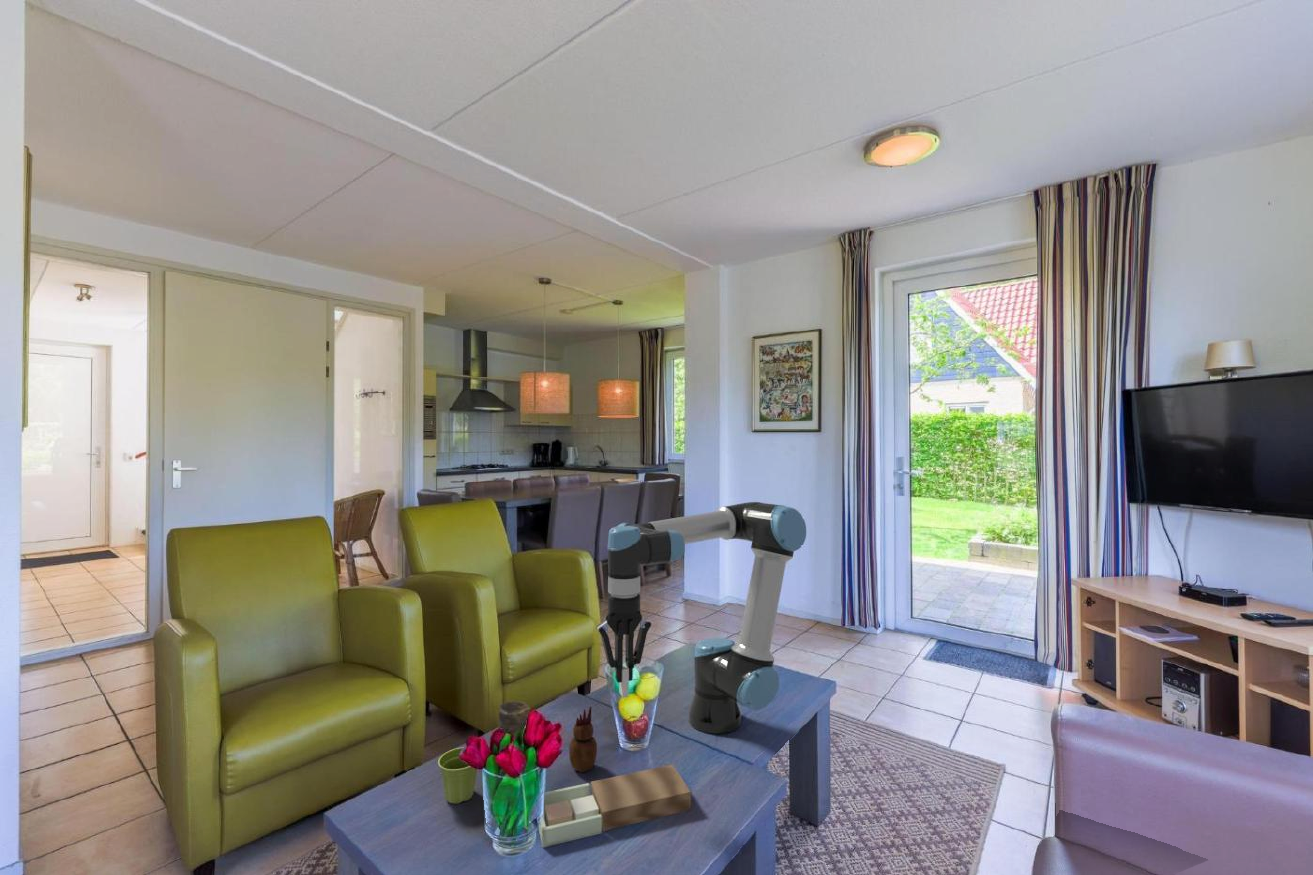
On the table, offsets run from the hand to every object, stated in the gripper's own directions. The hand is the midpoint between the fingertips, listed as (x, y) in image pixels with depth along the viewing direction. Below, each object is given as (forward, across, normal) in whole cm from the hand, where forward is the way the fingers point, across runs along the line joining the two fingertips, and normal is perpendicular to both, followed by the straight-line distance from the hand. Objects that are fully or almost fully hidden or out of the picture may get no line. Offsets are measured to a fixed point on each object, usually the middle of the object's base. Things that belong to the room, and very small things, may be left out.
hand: (624, 694), depth 132 cm
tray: (+22, +14, +6) cm, 27 cm away
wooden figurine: (+23, +7, -12) cm, 27 cm away
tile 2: (+22, +11, +6) cm, 25 cm away
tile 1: (+19, +16, +6) cm, 26 cm away
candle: (+23, +24, -8) cm, 34 cm away
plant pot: (+23, +36, -11) cm, 44 cm away
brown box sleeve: (+22, -2, +6) cm, 23 cm away
